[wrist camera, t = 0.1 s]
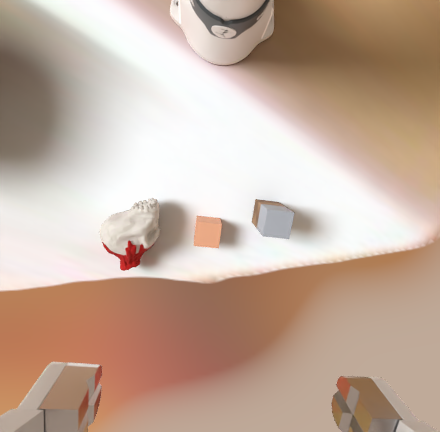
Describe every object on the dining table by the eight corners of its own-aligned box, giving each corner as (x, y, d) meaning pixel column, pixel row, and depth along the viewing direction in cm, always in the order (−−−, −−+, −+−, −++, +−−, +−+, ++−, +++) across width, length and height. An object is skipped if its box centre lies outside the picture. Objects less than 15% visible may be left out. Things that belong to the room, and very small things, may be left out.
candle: (162, 194, 55) (162, 258, 60) (105, 191, 53) (110, 257, 59) (156, 208, 46) (156, 282, 51) (88, 206, 45) (96, 281, 50)
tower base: (255, 199, 57) (260, 203, 52) (278, 202, 57) (285, 206, 53) (251, 221, 58) (256, 228, 53) (274, 224, 59) (280, 231, 54)
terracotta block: (196, 215, 57) (196, 221, 52) (220, 218, 57) (221, 224, 52) (194, 237, 58) (193, 245, 53) (216, 240, 58) (218, 248, 54)
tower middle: (261, 203, 52) (267, 209, 47) (285, 206, 53) (294, 212, 48) (256, 228, 53) (262, 236, 48) (280, 231, 54) (289, 238, 49)
